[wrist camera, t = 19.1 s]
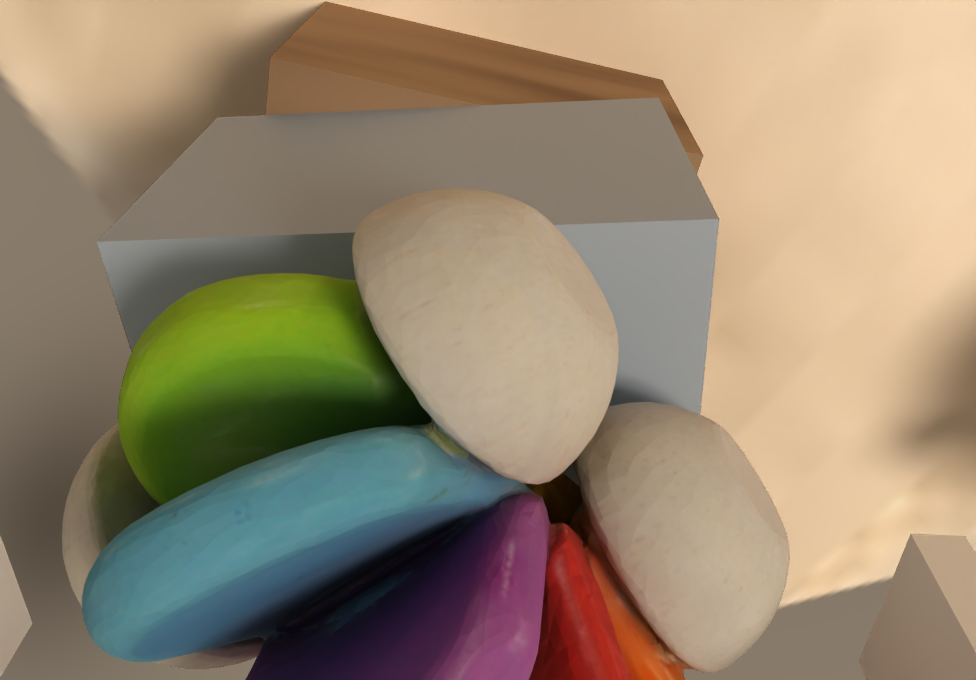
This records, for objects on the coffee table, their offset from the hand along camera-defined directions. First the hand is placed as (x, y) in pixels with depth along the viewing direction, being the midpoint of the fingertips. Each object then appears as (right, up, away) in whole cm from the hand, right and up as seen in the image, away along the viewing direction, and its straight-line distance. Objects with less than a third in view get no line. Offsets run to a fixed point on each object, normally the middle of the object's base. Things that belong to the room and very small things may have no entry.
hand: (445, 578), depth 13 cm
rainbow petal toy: (0, +2, +2) cm, 3 cm away
